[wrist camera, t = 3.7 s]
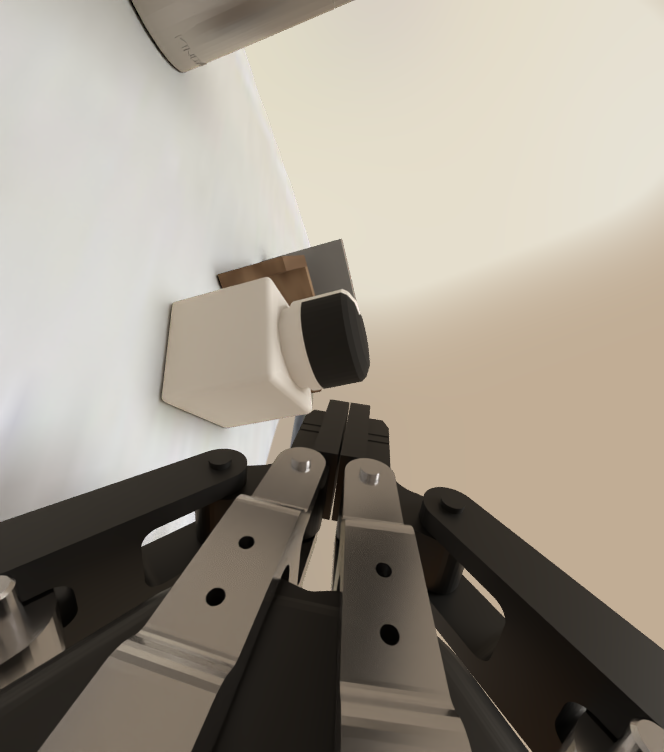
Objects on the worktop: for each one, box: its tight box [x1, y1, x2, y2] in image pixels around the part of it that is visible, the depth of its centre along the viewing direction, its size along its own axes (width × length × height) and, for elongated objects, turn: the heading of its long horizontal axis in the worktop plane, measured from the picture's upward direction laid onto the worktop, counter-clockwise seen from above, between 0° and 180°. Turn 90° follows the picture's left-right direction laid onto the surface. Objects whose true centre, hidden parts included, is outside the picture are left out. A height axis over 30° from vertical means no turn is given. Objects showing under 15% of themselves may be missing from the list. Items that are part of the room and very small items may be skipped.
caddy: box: [218, 255, 322, 393], centre depth 34 cm, size 12×9×6 cm
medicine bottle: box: [162, 277, 370, 428], centre depth 23 cm, size 7×7×12 cm
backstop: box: [262, 239, 356, 300], centre depth 43 cm, size 14×2×10 cm, turn 64°
